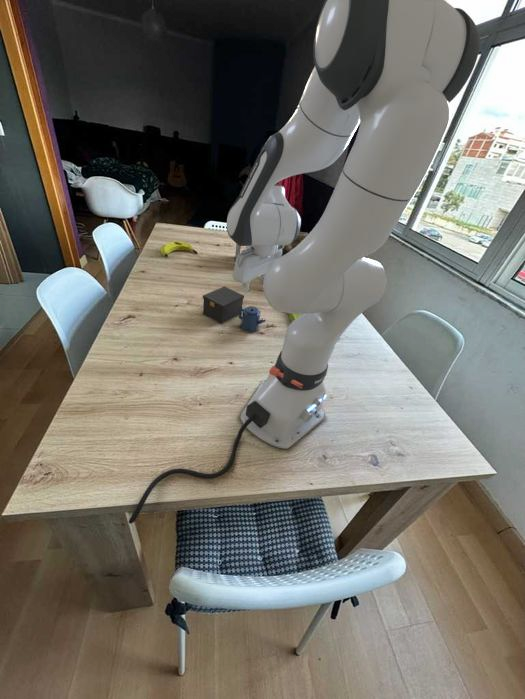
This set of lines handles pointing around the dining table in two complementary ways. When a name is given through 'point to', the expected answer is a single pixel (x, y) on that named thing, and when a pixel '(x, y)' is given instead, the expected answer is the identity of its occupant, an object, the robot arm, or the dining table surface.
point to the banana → (176, 247)
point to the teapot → (250, 318)
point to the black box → (222, 304)
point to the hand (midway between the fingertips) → (254, 287)
